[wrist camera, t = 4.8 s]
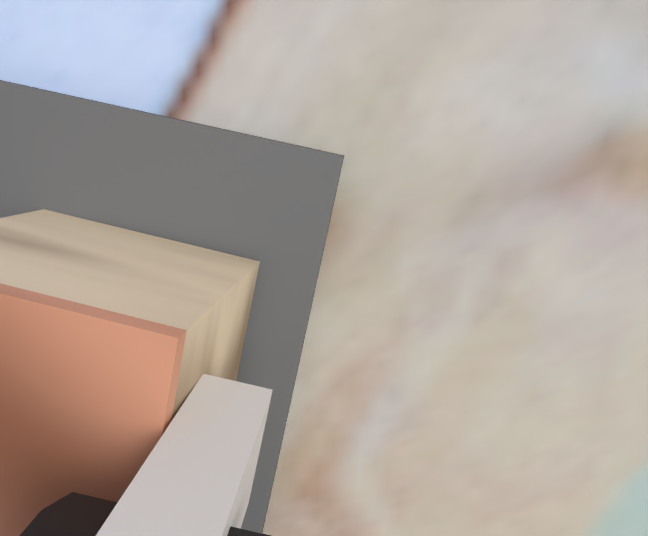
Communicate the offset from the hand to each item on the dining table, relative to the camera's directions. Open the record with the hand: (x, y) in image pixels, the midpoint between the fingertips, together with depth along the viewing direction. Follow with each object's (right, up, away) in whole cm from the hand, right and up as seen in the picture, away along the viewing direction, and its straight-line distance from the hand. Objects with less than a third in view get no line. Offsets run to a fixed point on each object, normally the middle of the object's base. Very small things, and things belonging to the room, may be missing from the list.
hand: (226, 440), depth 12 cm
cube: (-3, +2, +4) cm, 5 cm away
